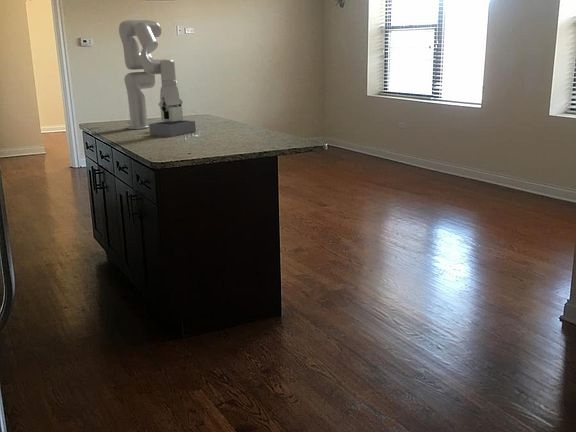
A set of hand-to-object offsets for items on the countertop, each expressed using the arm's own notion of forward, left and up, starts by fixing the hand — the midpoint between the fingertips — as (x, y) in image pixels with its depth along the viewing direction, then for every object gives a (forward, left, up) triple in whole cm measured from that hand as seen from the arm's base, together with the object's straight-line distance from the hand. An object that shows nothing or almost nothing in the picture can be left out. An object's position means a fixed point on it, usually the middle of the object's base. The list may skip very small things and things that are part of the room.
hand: (172, 117), depth 337 cm
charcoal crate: (0, 0, -8) cm, 8 cm away
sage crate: (0, 0, -1) cm, 1 cm away
